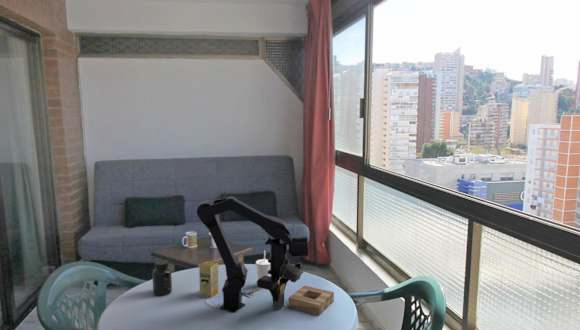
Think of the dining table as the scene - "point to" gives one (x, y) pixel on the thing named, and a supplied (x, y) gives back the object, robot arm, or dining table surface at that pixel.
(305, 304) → the block
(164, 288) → the supplement bottle
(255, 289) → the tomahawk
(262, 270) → the smoothie
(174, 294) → the dining table surface
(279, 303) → the orange and grey peg
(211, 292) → the shoe polish box
